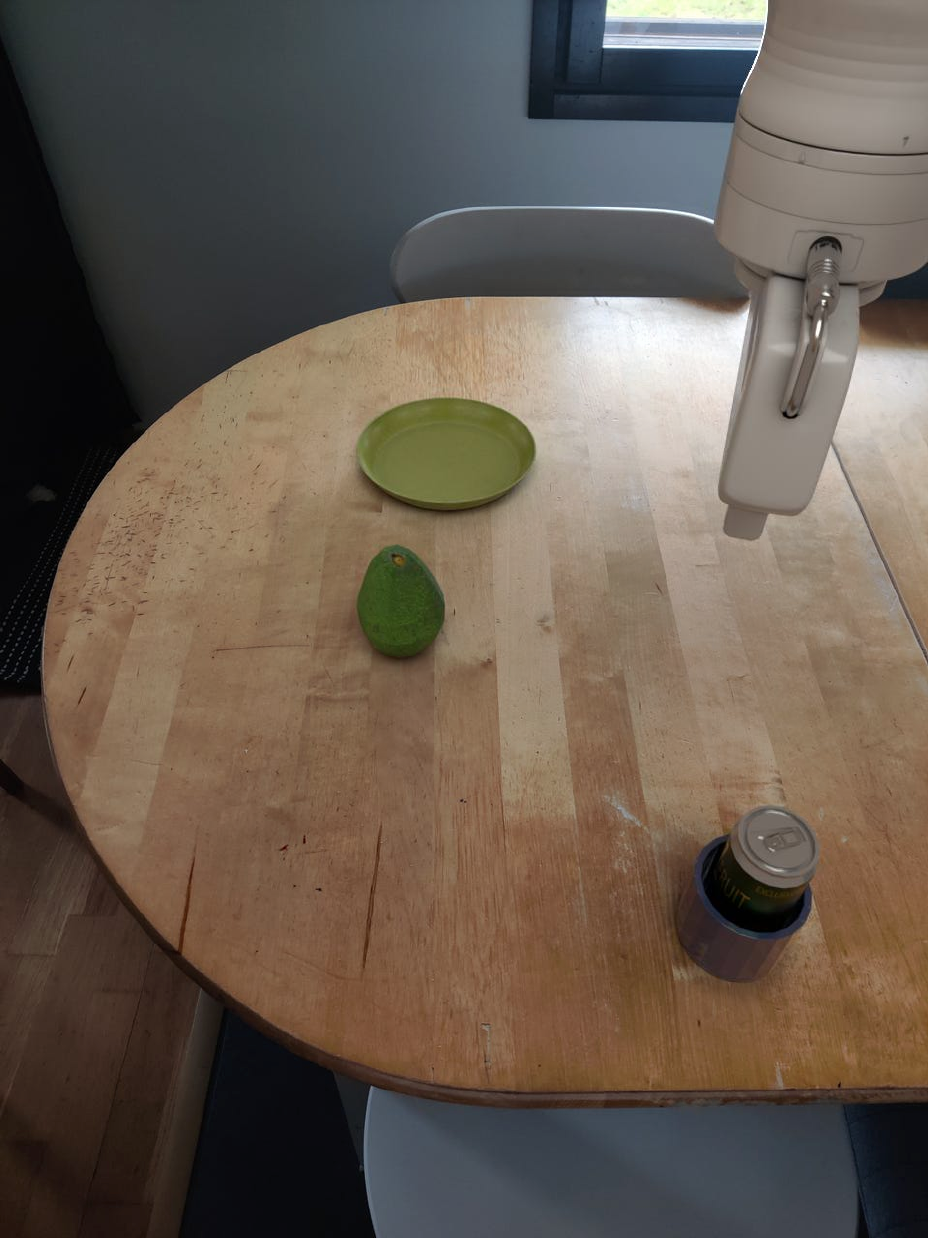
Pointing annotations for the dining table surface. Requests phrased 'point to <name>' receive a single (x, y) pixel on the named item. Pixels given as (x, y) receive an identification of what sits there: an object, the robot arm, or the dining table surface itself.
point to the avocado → (400, 603)
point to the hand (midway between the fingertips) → (748, 474)
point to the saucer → (446, 452)
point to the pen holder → (730, 928)
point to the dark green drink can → (764, 868)
